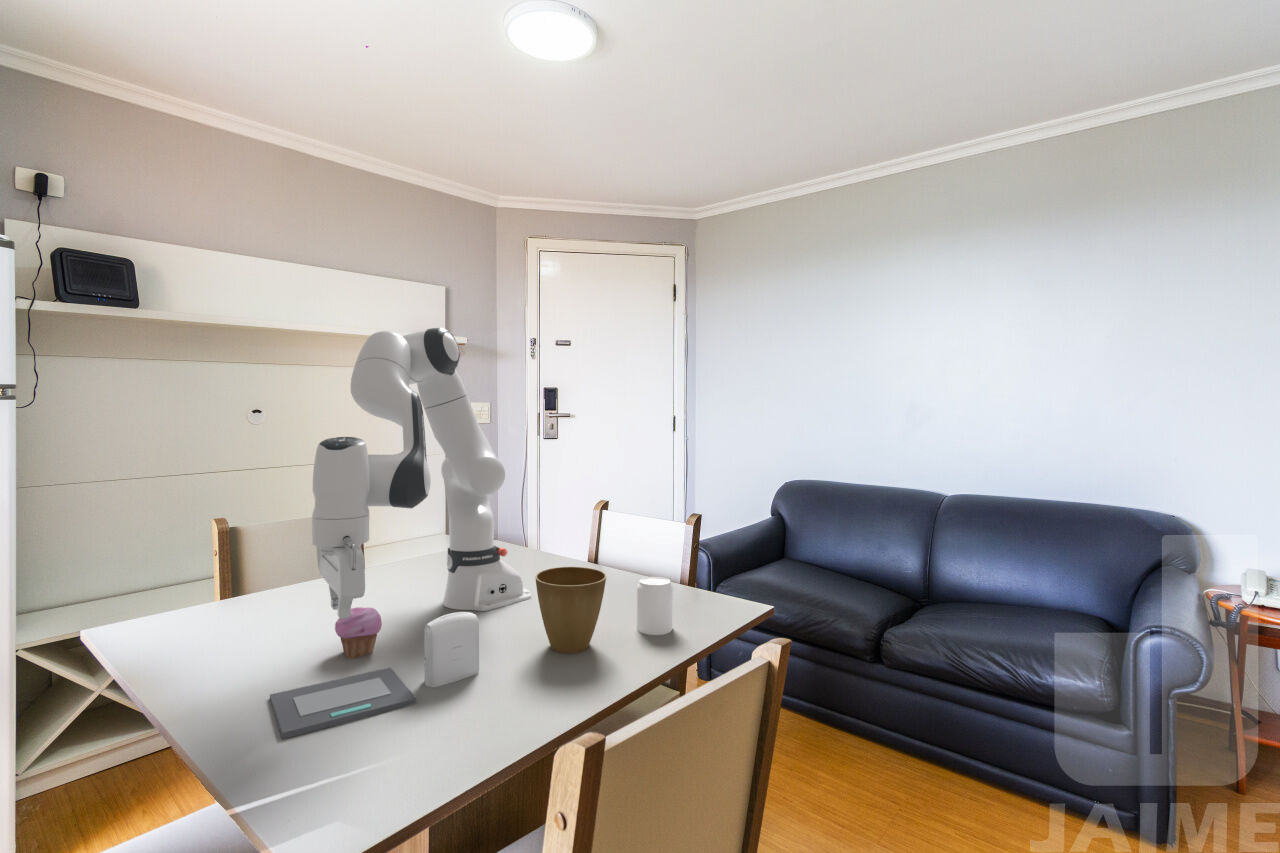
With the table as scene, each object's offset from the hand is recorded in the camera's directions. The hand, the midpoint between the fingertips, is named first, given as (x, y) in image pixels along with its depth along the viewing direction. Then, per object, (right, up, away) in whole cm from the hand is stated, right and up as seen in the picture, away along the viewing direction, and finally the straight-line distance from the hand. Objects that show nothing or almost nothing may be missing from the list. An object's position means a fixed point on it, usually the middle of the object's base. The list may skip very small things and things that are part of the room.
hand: (340, 612), depth 107 cm
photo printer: (+16, -16, +10) cm, 25 cm away
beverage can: (+55, -16, +36) cm, 67 cm away
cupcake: (-6, -15, +21) cm, 26 cm away
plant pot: (+37, -16, +25) cm, 47 cm away
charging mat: (0, -16, 0) cm, 16 cm away
